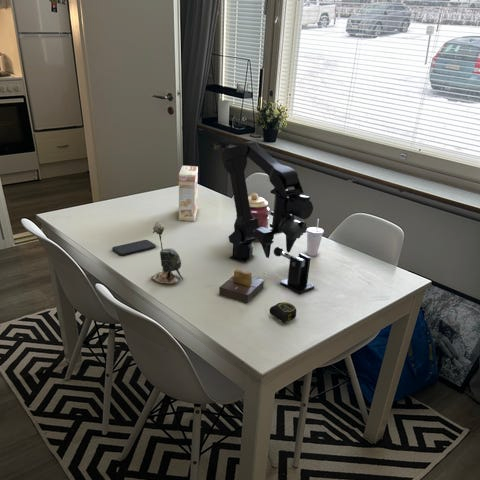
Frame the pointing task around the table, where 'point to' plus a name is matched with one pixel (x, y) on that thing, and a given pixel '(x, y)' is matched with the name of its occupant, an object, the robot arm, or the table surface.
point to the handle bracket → (298, 275)
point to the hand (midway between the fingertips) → (277, 254)
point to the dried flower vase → (167, 262)
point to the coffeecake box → (188, 193)
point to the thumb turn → (242, 277)
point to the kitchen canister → (259, 210)
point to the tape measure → (283, 311)
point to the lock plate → (241, 289)
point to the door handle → (286, 255)
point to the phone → (133, 247)
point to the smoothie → (314, 239)
